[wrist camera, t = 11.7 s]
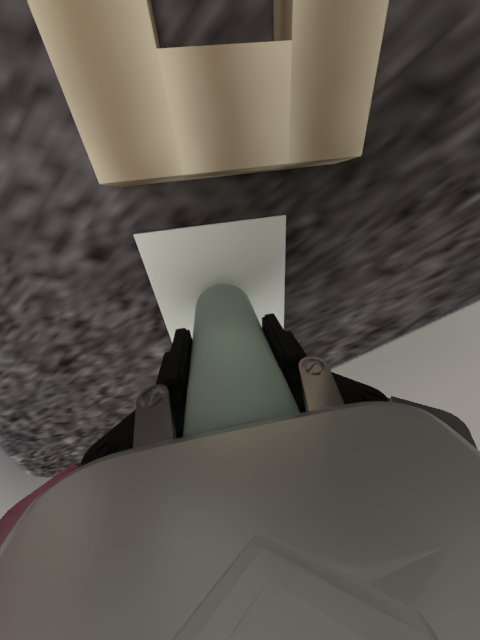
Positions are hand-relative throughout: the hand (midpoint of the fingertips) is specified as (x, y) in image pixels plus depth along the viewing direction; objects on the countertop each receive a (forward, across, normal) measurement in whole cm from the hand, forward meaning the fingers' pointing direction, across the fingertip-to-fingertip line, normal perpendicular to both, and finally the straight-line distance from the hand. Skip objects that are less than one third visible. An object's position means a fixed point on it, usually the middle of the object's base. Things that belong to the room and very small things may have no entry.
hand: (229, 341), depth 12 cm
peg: (+4, 0, 0) cm, 4 cm away
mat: (+8, 0, 0) cm, 8 cm away
